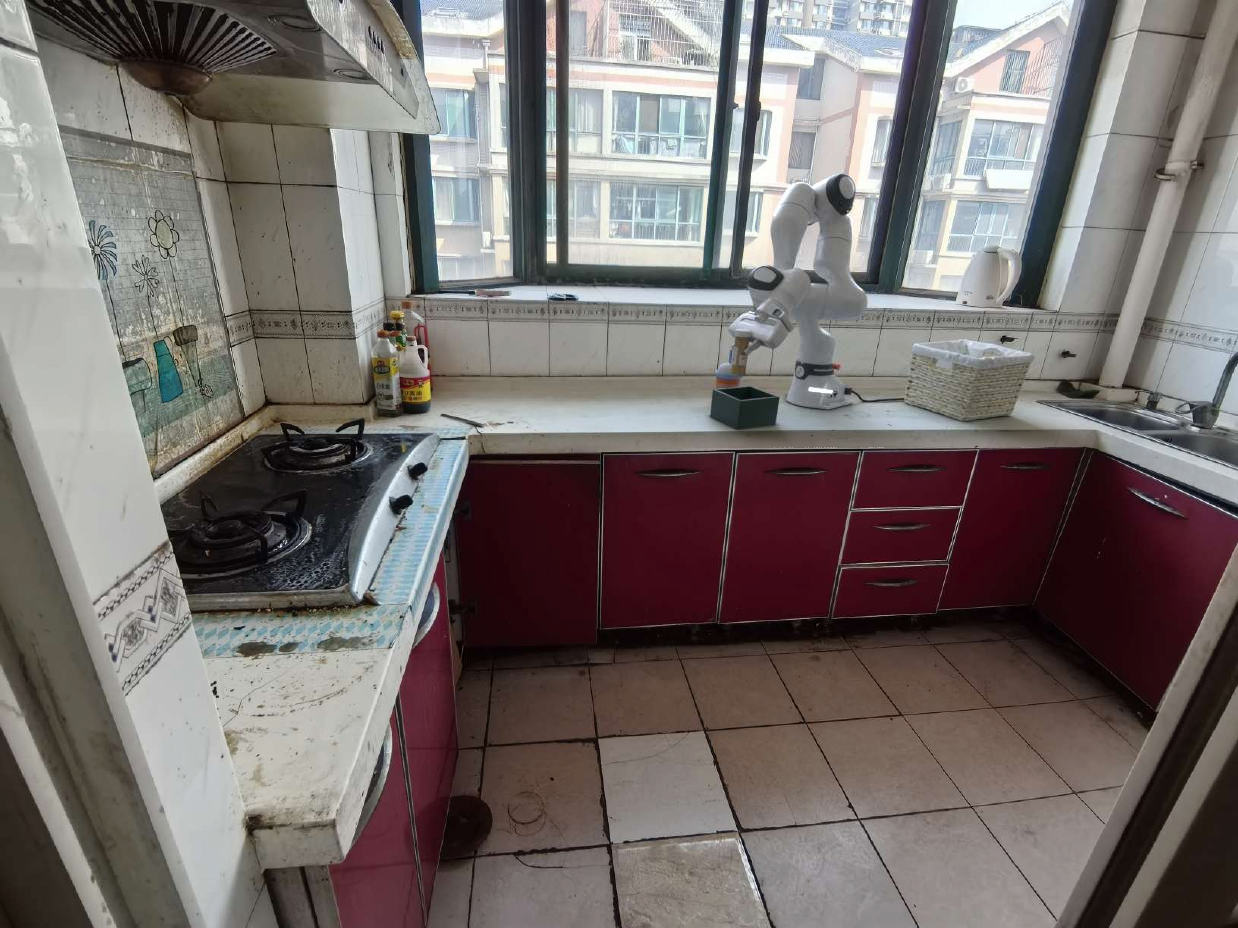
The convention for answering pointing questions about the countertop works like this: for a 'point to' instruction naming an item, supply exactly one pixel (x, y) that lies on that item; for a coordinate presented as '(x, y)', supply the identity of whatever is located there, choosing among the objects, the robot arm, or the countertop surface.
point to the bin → (744, 407)
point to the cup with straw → (726, 375)
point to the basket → (966, 378)
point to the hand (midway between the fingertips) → (739, 351)
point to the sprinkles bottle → (740, 352)
